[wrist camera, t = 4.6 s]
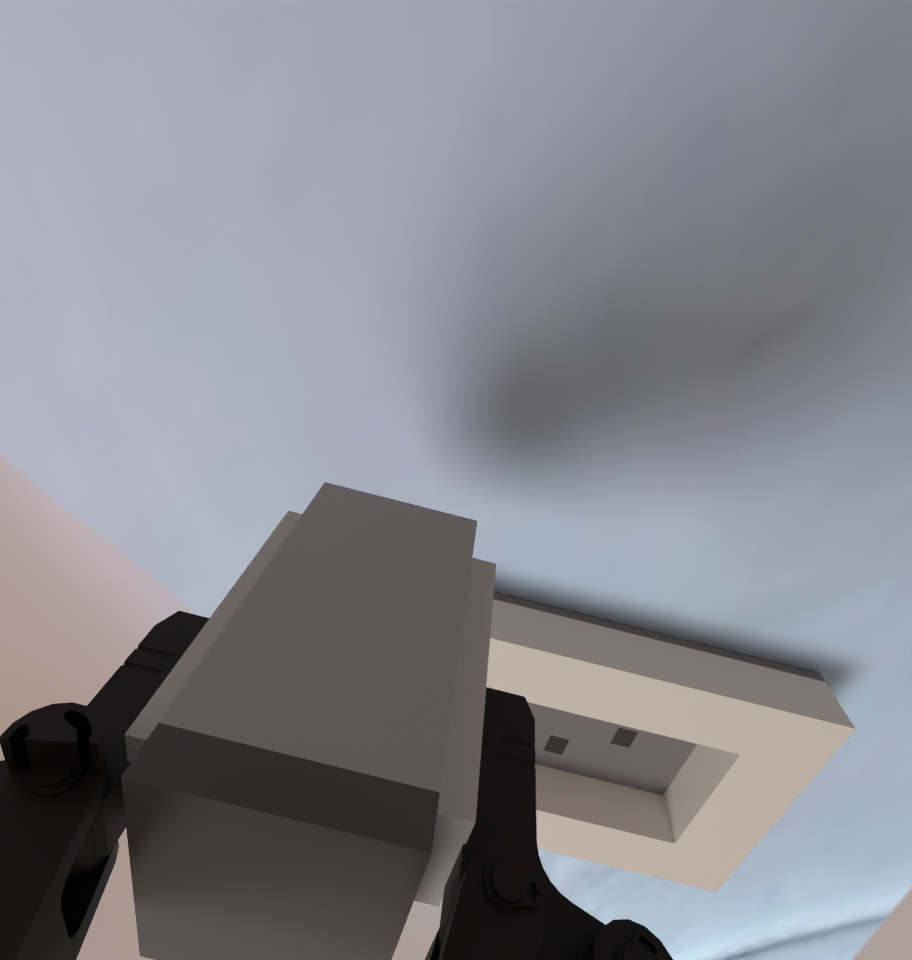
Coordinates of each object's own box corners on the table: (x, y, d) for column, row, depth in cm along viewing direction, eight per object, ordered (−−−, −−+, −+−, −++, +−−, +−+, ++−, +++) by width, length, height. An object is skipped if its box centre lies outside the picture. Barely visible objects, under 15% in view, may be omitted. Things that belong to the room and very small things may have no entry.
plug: (324, 482, 14) (121, 777, 7) (477, 521, 14) (431, 853, 7) (305, 625, 16) (140, 955, 9) (436, 658, 16) (371, 1012, 9)
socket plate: (313, 547, 25) (283, 597, 22) (819, 673, 25) (863, 741, 22) (289, 732, 31) (262, 793, 28) (699, 832, 31) (720, 904, 28)
